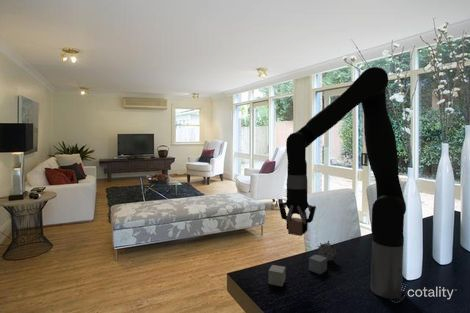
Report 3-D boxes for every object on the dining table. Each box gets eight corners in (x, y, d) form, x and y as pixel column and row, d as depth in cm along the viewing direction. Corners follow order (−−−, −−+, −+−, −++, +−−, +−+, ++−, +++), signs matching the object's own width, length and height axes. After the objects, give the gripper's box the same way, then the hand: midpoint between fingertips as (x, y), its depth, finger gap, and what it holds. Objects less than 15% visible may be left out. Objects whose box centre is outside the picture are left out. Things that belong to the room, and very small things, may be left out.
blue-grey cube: (326, 270, 115) (327, 258, 114) (320, 274, 111) (320, 261, 111) (315, 266, 118) (315, 254, 118) (308, 270, 115) (308, 257, 115)
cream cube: (285, 280, 107) (285, 267, 107) (282, 286, 102) (282, 272, 102) (271, 277, 109) (272, 264, 108) (268, 284, 104) (268, 270, 104)
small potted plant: (322, 270, 122) (308, 252, 121) (326, 256, 129) (313, 239, 128) (341, 266, 117) (327, 246, 116) (344, 251, 124) (331, 233, 123)
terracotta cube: (305, 232, 110) (305, 219, 110) (301, 236, 106) (301, 222, 106) (292, 230, 113) (292, 217, 112) (288, 233, 108) (288, 220, 108)
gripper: (319, 186, 108) (318, 231, 109) (282, 183, 115) (282, 226, 116) (313, 189, 101) (313, 237, 102) (275, 186, 109) (275, 231, 110)
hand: (296, 231), depth 109 cm, fingers closed on terracotta cube, 5 cm apart
